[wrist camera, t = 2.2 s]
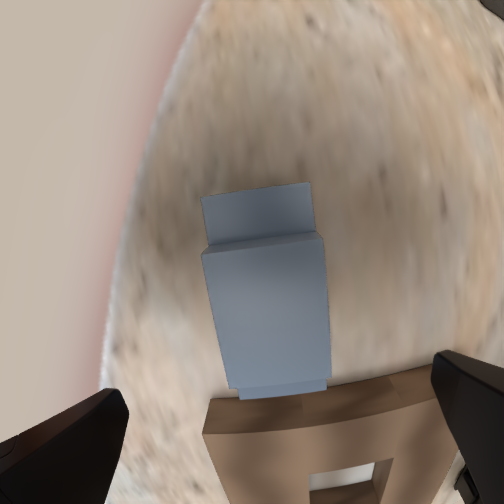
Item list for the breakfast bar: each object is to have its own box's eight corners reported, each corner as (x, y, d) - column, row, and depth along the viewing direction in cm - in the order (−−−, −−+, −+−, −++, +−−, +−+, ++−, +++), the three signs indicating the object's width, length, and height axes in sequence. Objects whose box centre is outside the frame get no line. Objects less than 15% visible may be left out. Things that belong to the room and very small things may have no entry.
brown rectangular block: (459, 355, 18) (482, 380, 14) (418, 486, 22) (427, 509, 18) (210, 398, 19) (201, 434, 16) (250, 516, 23) (248, 541, 20)
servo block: (299, 181, 16) (316, 182, 10) (316, 350, 18) (332, 410, 13) (216, 193, 16) (191, 200, 11) (244, 359, 18) (237, 420, 13)
